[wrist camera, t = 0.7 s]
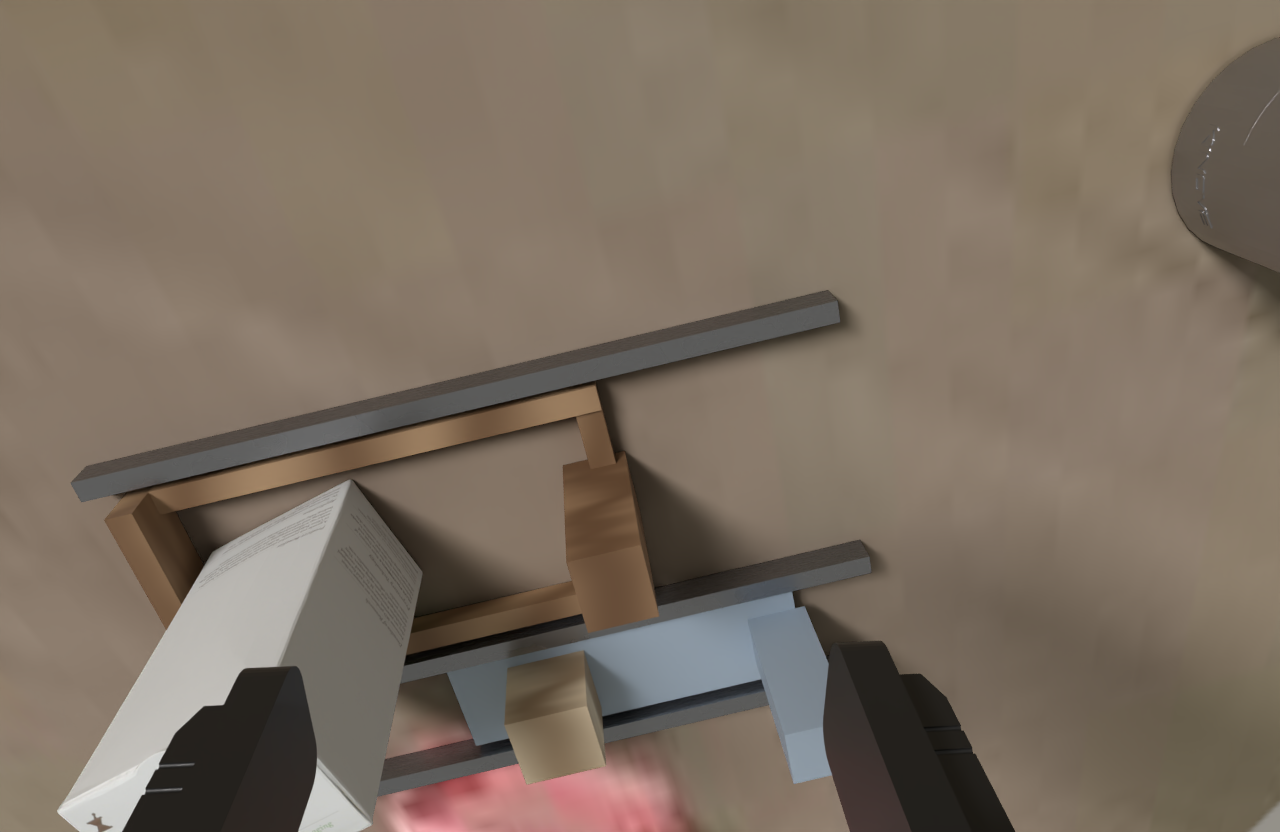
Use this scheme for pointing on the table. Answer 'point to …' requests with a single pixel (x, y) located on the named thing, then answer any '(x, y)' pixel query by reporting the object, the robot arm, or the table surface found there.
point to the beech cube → (554, 717)
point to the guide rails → (562, 631)
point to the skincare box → (276, 657)
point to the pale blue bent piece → (688, 672)
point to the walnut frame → (593, 489)
